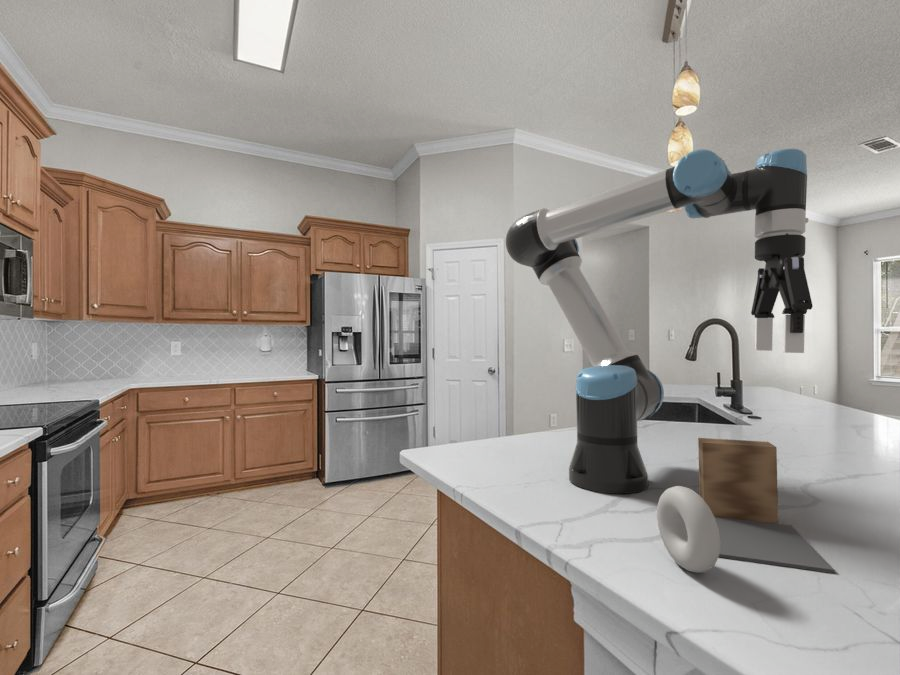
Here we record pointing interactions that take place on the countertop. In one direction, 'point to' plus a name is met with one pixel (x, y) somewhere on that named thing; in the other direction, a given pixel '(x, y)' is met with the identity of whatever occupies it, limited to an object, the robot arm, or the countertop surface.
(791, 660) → the countertop surface
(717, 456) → the slab
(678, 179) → the robot arm
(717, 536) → the donut
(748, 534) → the mat
